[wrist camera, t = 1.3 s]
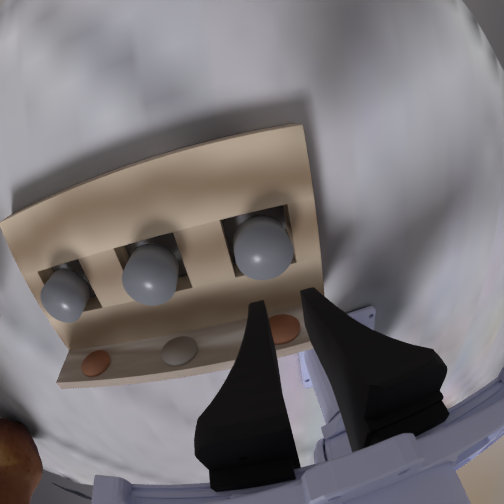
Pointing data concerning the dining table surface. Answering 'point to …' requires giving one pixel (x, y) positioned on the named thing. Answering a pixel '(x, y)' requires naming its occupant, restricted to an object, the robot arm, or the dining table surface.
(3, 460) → the butternut squash
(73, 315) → the button end
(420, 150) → the dining table surface
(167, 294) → the button middle
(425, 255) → the dining table surface
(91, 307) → the button board
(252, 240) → the button end
